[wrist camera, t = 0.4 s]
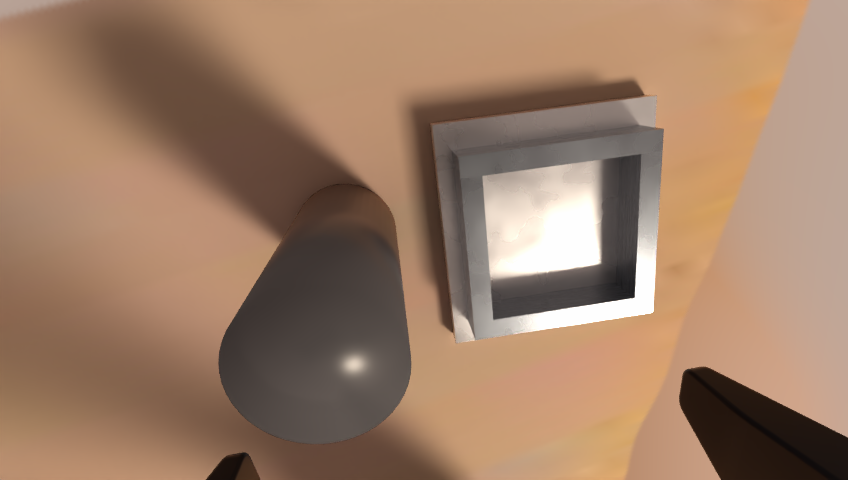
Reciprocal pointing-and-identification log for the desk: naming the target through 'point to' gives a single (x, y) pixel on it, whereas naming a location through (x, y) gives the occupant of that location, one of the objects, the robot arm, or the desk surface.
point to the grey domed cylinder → (323, 325)
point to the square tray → (549, 215)
